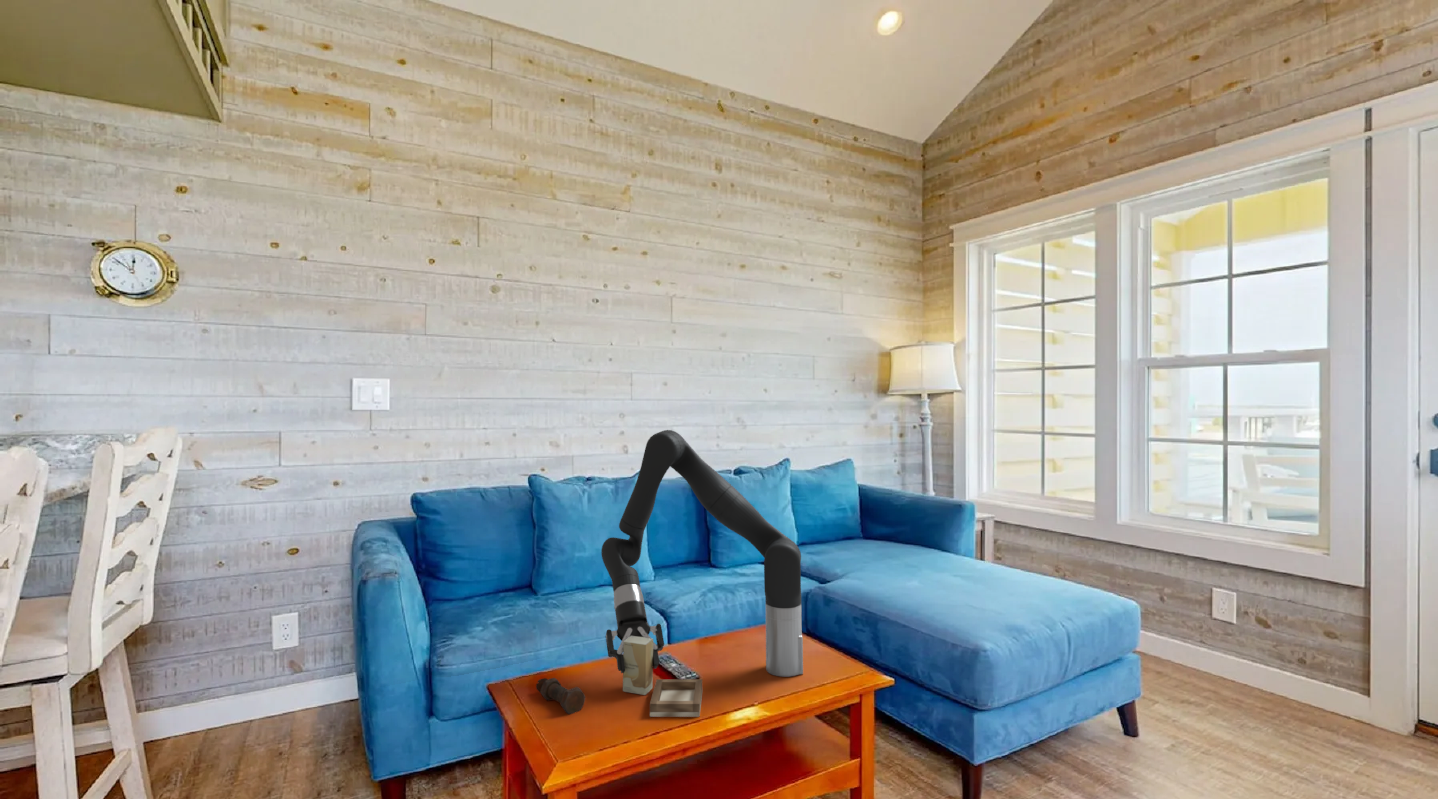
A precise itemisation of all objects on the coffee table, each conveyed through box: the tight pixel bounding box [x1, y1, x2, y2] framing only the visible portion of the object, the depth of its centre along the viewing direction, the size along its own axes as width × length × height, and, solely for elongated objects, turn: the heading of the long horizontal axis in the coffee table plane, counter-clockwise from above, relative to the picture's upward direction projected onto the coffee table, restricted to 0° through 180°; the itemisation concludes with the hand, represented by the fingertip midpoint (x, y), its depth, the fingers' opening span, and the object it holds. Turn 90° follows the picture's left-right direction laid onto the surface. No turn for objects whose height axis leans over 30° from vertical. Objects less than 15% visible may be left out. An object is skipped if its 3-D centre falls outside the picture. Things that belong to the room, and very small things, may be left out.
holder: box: [649, 678, 703, 718], centre depth 152 cm, size 11×13×3 cm
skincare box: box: [622, 636, 654, 696], centre depth 159 cm, size 6×4×12 cm
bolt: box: [535, 677, 586, 715], centre depth 154 cm, size 6×5×15 cm
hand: (639, 669), depth 158 cm, fingers closed on skincare box, 7 cm apart
